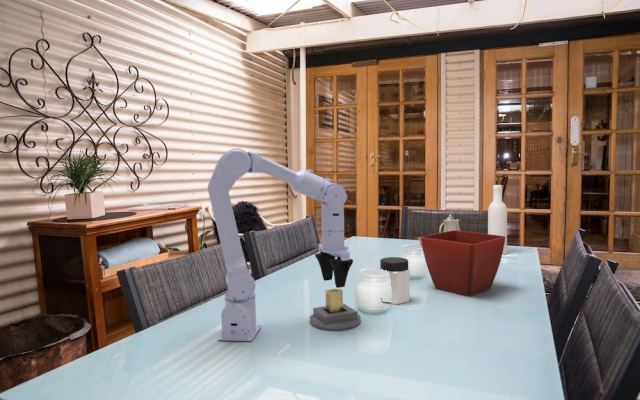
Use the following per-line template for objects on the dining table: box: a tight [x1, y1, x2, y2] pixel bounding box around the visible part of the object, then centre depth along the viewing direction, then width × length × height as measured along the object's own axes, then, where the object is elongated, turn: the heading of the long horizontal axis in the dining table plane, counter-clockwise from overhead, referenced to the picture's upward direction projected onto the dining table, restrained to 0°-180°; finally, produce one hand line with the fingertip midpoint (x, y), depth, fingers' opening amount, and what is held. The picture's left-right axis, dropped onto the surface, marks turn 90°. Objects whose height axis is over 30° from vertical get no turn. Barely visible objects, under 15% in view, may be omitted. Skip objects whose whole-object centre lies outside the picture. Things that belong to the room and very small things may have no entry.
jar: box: [379, 256, 410, 305], centre depth 130 cm, size 9×8×12 cm
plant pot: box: [420, 230, 505, 297], centre depth 140 cm, size 19×19×17 cm
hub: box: [309, 302, 361, 332], centre depth 113 cm, size 13×13×3 cm
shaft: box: [325, 288, 344, 314], centre depth 113 cm, size 4×3×7 cm
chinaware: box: [417, 214, 461, 247], centre depth 210 cm, size 28×17×17 cm, turn 129°
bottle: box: [487, 184, 508, 256], centre depth 193 cm, size 8×8×30 cm
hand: (333, 283), depth 113 cm, fingers open, 7 cm apart
